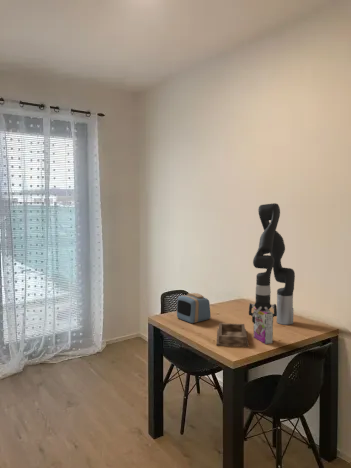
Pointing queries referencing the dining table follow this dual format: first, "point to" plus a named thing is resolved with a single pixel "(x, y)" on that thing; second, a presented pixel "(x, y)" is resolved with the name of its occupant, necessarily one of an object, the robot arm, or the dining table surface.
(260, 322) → the candy bar box
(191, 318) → the alarm clock
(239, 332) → the walnut slot stand
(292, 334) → the dining table surface
